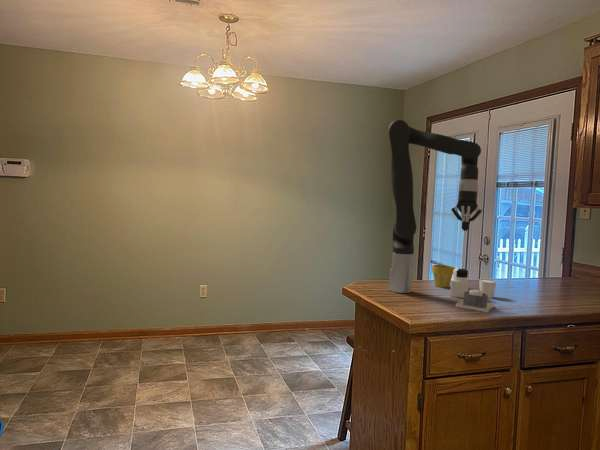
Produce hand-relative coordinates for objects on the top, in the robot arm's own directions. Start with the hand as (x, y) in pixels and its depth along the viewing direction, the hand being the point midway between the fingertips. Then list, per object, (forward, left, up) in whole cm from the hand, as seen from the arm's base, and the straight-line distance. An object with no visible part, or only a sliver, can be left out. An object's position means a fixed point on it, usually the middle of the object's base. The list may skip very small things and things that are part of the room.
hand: (465, 230), depth 196 cm
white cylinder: (+9, +10, -29) cm, 32 cm away
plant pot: (-13, +19, -29) cm, 37 cm away
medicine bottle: (-1, +2, -29) cm, 29 cm away
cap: (+9, -14, -28) cm, 32 cm away
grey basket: (+9, -14, -29) cm, 33 cm away
